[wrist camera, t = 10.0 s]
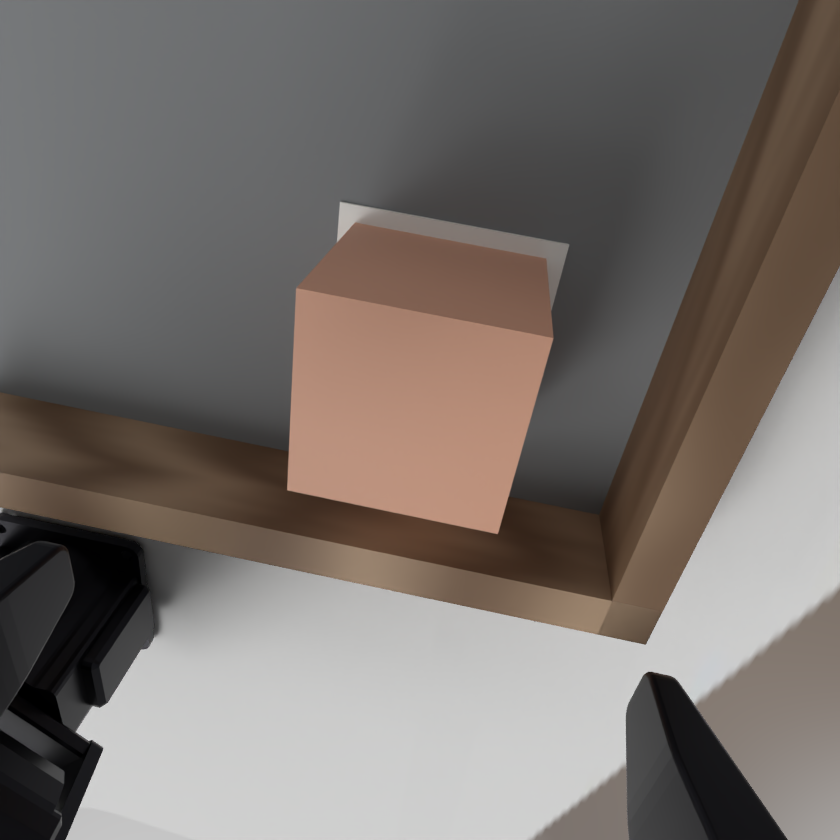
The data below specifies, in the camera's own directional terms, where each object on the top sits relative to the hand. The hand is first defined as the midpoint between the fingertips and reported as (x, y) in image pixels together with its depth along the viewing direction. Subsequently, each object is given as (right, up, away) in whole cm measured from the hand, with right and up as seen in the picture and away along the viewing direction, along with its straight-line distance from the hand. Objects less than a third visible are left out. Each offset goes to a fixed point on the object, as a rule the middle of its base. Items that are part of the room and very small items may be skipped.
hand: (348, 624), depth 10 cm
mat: (-2, +9, +9) cm, 13 cm away
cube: (+2, +6, +10) cm, 12 cm away
